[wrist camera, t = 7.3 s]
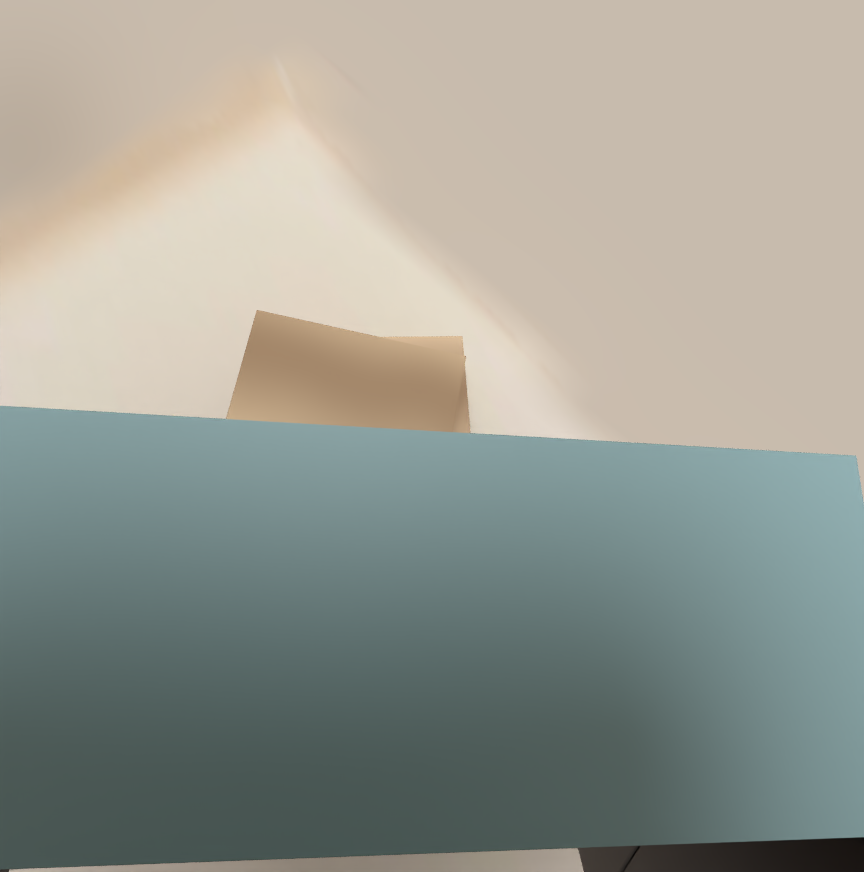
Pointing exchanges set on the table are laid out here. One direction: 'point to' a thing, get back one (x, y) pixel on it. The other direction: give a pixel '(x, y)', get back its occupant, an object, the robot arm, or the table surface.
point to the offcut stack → (350, 378)
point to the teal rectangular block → (417, 642)
